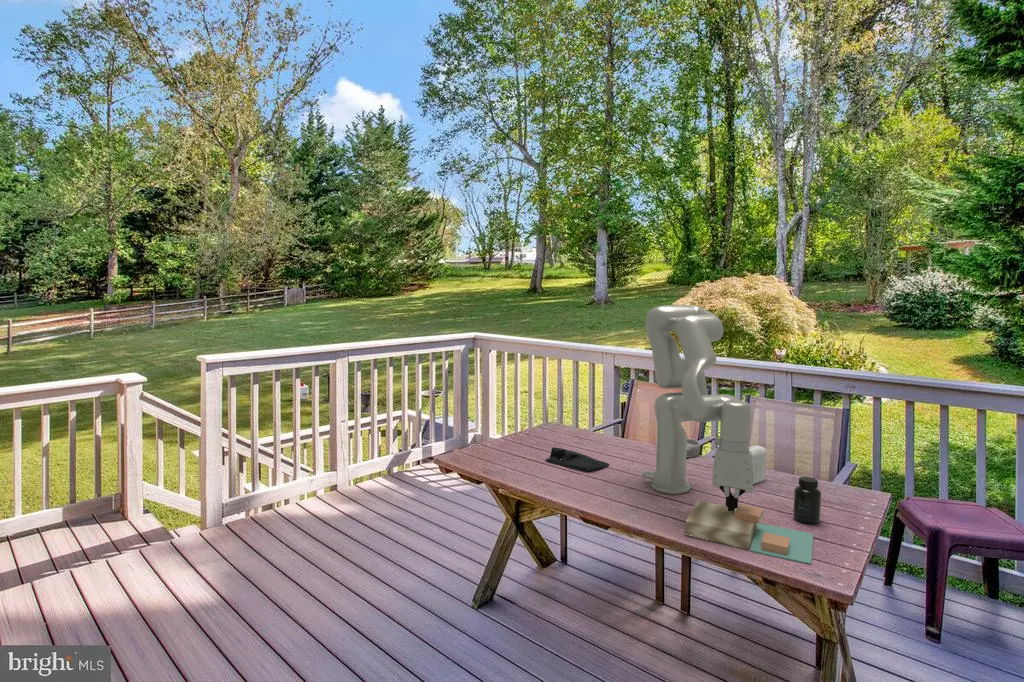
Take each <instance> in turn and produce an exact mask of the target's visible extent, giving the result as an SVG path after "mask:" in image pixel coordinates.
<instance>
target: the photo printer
mask: <svg viewBox="0 0 1024 682" xmlns="http://www.w3.org/2000/svg"><path fill="white" fill-rule="evenodd" d="M749 450H750V451H751V453H752V459H753V483H752V484H753V485H755V484H758V483H760V482H763V481H765V480H766V471H767V470H766V469H767V454H768V453H767V450H766V448H765V447H764V446H761V445H751V446H749Z"/></svg>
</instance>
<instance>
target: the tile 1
mask: <svg viewBox="0 0 1024 682" xmlns="http://www.w3.org/2000/svg"><path fill="white" fill-rule="evenodd" d="M764 510H765V509H764V508H761V507H756V506H751V505H747V504H742V503H740V504H738V508H737V509H736V511H735V518H736V519H740V520H744V521H749V522H753V523H757V524H759V523H761V520H762V519H763V518H764ZM757 524H756V525H757Z"/></svg>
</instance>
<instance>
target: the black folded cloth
mask: <svg viewBox="0 0 1024 682" xmlns="http://www.w3.org/2000/svg"><path fill="white" fill-rule="evenodd" d="M560 459H561V460H560ZM545 461H546V462H548V463H552V462H553V464H554V463H556V464H555V465H558V464H560V465H559V466H562V465H563V466H562V467H567V466H569V467H568V468H570V467H573V468H572V469H575V468H576V469H575V470H578V469H581V470H580V471H583V470H585V471H586V472H591V471H594V470H598V468H600V469H605V468H608V467H610V466H609V465H610V463H608V462H605V461H601V460H598V459H596V458H593V457H591V456H589V455H586V454H583V453H579V452H577V451H573V450H569V449H566V448H562V447H556V446H555V447H552V448H551V451H550V455H549V457H548V458H546V459H545ZM549 461H550V462H549ZM604 467H605V468H604Z"/></svg>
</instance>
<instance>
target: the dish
mask: <svg viewBox="0 0 1024 682" xmlns="http://www.w3.org/2000/svg"><path fill="white" fill-rule="evenodd" d="M700 453H701V443H700V442H699V441H698V440H696V438H695V439H694V438H689V437H687V456H688V457H687V458H694V457H698V456H699V455H700ZM689 456H690V457H689Z"/></svg>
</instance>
